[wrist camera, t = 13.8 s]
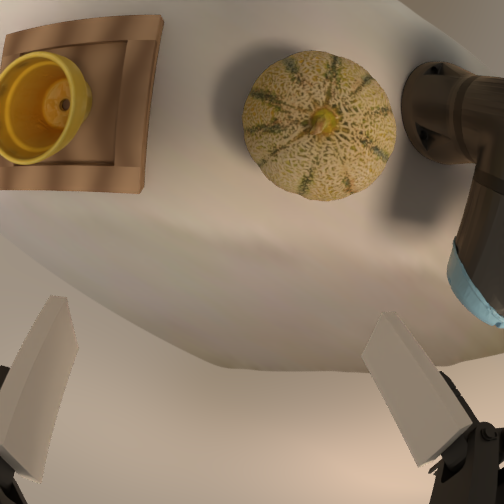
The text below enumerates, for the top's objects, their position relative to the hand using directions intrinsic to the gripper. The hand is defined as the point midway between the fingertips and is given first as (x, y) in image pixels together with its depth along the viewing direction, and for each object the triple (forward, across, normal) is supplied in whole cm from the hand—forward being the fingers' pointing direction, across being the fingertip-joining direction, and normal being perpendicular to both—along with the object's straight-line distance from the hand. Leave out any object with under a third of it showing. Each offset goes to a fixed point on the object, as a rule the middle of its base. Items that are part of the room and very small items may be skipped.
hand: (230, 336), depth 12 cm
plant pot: (+25, +18, -8) cm, 32 cm away
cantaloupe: (+27, -9, -8) cm, 29 cm away
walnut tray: (+27, +18, -8) cm, 33 cm away
